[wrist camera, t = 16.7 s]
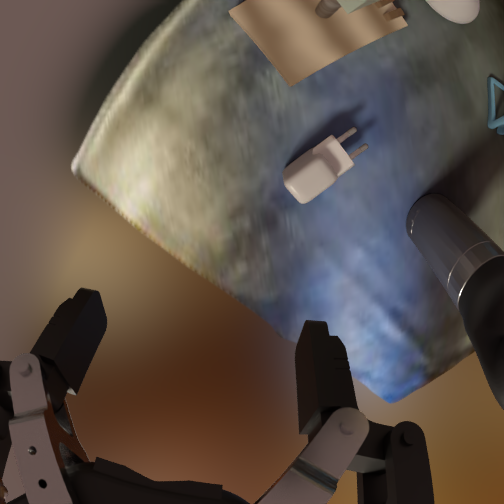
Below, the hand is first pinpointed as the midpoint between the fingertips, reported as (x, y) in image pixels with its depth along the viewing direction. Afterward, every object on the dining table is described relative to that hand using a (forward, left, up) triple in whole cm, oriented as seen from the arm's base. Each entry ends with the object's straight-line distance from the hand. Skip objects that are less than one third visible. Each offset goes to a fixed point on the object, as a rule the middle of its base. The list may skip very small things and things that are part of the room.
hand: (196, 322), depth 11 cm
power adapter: (-10, 0, -30) cm, 32 cm away
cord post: (-7, -19, -30) cm, 36 cm away
